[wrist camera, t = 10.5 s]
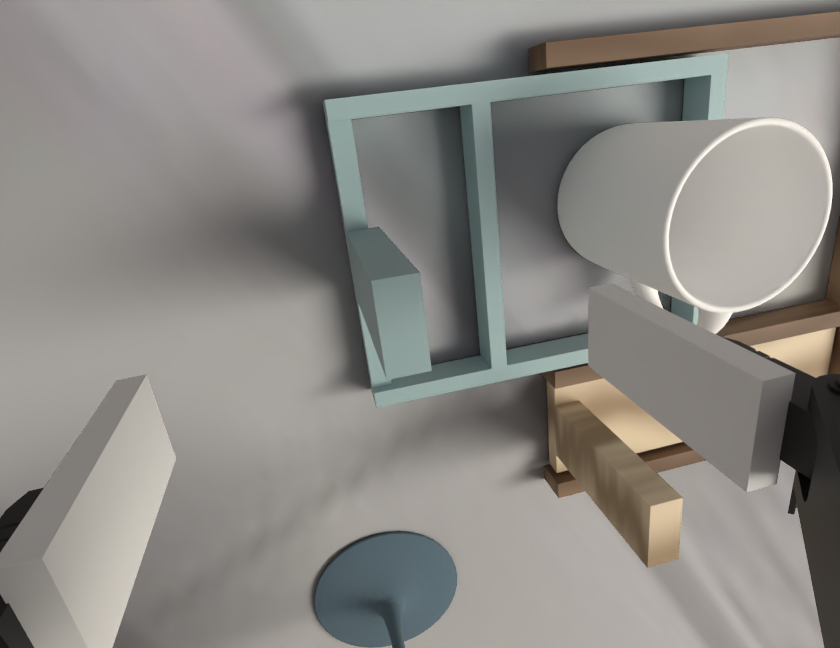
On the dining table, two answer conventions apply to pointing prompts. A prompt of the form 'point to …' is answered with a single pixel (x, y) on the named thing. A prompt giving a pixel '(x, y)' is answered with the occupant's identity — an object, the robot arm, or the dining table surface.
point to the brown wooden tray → (745, 329)
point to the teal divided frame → (472, 228)
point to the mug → (699, 209)
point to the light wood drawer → (640, 449)
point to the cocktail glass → (385, 589)
